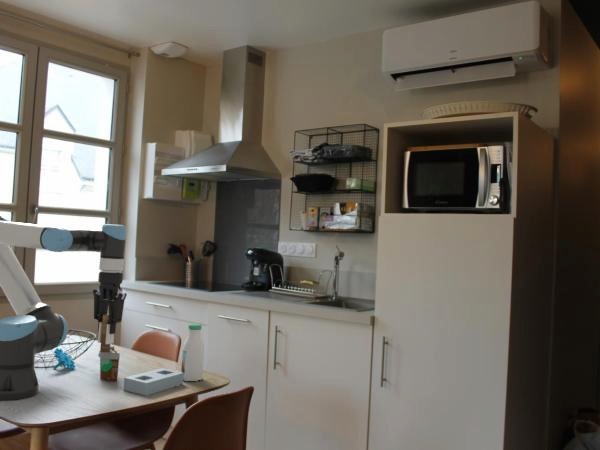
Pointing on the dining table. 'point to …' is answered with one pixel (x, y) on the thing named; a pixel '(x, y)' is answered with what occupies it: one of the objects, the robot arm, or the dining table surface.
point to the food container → (109, 365)
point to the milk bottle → (193, 354)
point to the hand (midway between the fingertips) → (105, 342)
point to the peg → (104, 334)
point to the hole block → (153, 381)
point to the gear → (64, 360)
